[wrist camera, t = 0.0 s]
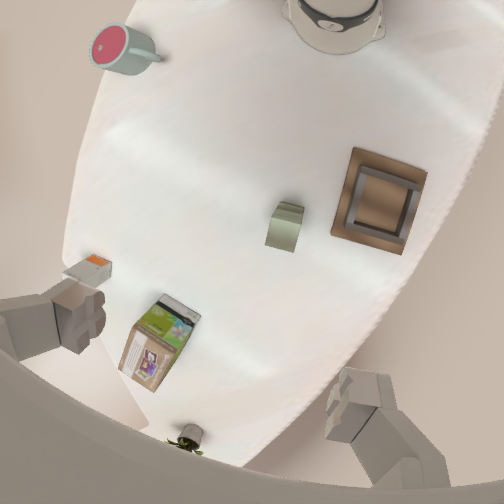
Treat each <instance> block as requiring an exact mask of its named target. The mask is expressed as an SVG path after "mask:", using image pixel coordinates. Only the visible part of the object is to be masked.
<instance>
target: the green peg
mask: <svg viewBox="0 0 504 504" xmlns="http://www.w3.org/2000/svg"><path fill="white" fill-rule="evenodd" d="M303 213H304V208H303V207H299V206H295V205H291V204H288V203H284V202H280V204H279V205H278V207H277V208H276V210H275V212H274V213H273V215H272V217H271V220H270V225H269V229H268V233H267V237H266V242H265V245H266V246H270V247H274V248H277V249H281V250H285V251H289V252H292V253H294V249H295V246H296V242H297V238H298V235H299V231H300V227H301V223H302V218H303Z"/></svg>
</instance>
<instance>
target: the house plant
mask: <svg viewBox="0 0 504 504" xmlns="http://www.w3.org/2000/svg"><path fill="white" fill-rule="evenodd" d="M202 432H203V430H202V429H201V428H200V427H199V426H197V425H195V424H188V425H187V426H186V428H185V429H184V430H183V432H182V433H181V434H180V435H179V437H178V438H177V441H178V443H179V444H178V443H174V442H172V441H169V440H168V439H167V440H168V442H169V443H167V442H165V443H167V444H172V445H179V446H180V447H179V446H175V447H178V448H180V449H183V450H186V451H189V452H192V450H194V452H195V453H196V454H197V455H200V456H201V455H202V454H203V453H202V452H201V451H195V450H197V449H199V447H200V442H201V437H202Z"/></svg>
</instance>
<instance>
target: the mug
mask: <svg viewBox="0 0 504 504" xmlns="http://www.w3.org/2000/svg"><path fill="white" fill-rule="evenodd" d="M89 57H90V61H91V63H92V64H93V65H94V66H95V67H98V68H101V69H106V70H110V71H114V72H118V73H122V74H126V75H137V74H140V73H141V72H143V71H144V70H146V69H147V68H148V67H149V65H150V64H151V62H152V61H155V62H159V61H161V59H162V58H161V56H159V55H157V54H155V44H154V42H153V40H152V39H151V38H150V37H148V36H146V35H144V34H142V33H140V32H138V31H136V30H134V29H132V28H130V27H128V26H125V25H123V24H121V23H111V24H108V25H106V26H105V27H103V28H102V29H101V30H100V31H99V32H98V33H97V34H96V36H95V37H94V39H93V40H92V43H91V46H90V49H89Z"/></svg>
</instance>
